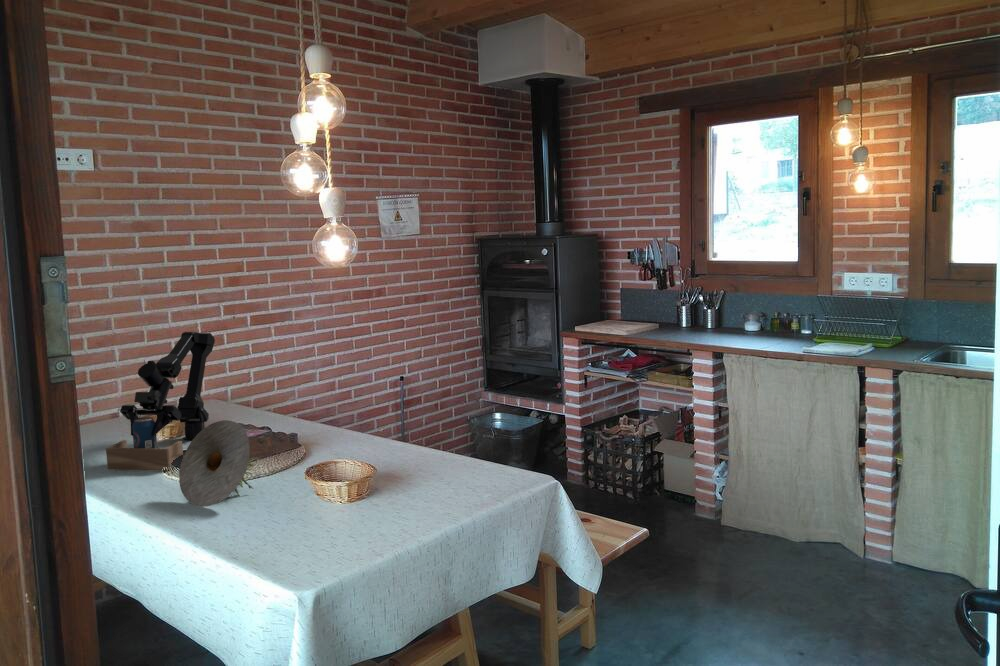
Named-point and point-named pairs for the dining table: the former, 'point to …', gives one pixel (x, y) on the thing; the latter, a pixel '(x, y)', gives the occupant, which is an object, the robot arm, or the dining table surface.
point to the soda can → (144, 433)
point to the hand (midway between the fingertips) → (142, 435)
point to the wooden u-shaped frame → (141, 457)
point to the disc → (215, 463)
